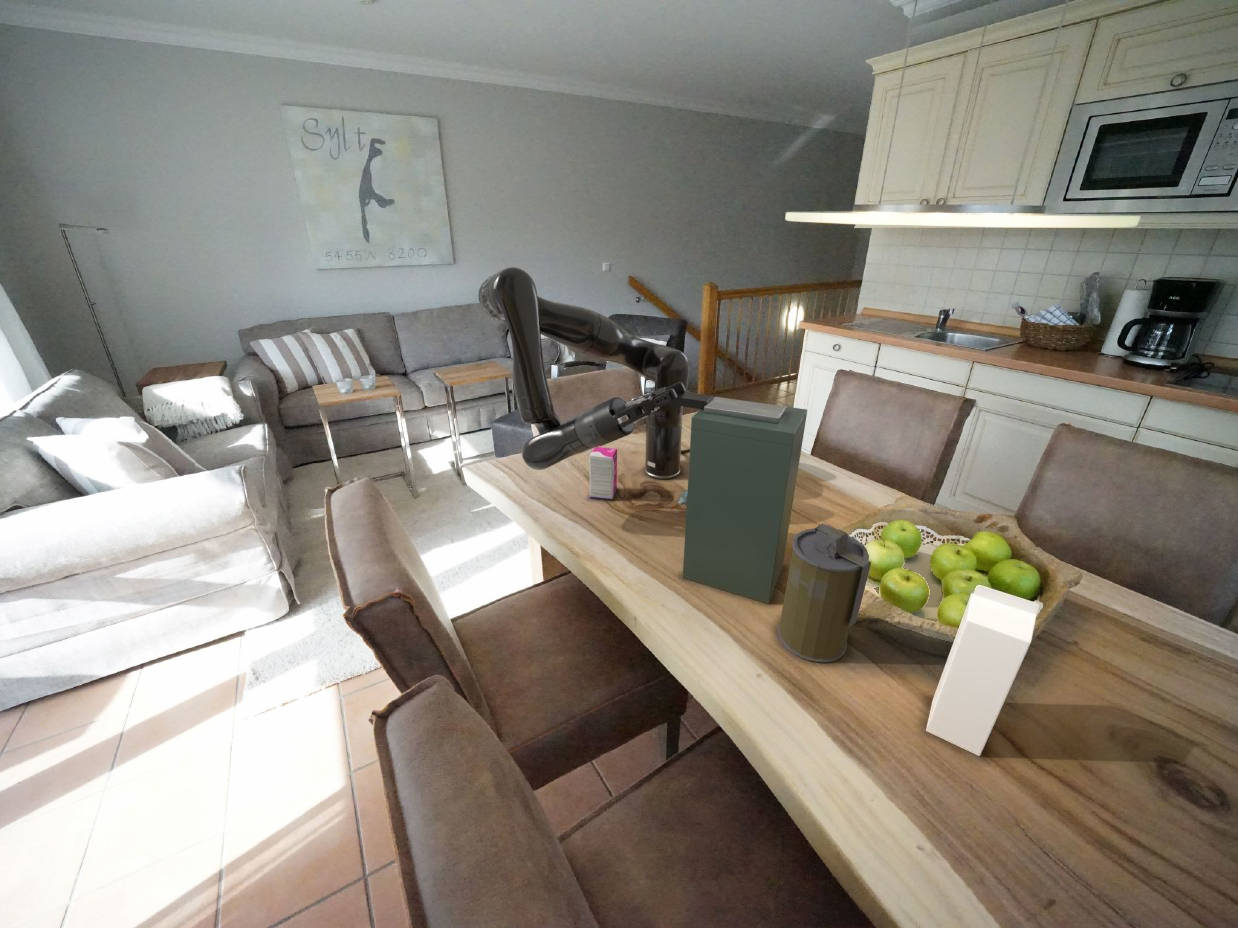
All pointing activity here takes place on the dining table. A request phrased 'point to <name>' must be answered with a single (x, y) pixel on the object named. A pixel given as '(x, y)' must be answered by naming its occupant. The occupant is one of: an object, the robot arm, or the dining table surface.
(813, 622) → the canister
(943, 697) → the milk
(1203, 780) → the dining table surface
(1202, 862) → the dining table surface
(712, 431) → the tall green lidded box
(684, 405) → the long-handled flat paddle
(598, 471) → the supplement box
